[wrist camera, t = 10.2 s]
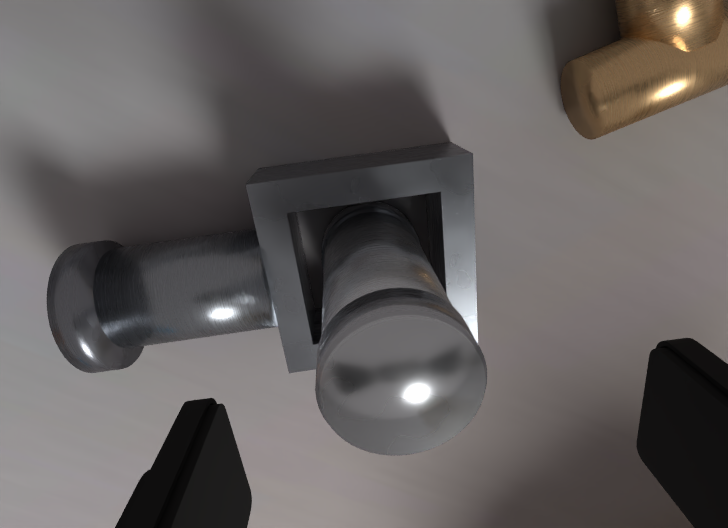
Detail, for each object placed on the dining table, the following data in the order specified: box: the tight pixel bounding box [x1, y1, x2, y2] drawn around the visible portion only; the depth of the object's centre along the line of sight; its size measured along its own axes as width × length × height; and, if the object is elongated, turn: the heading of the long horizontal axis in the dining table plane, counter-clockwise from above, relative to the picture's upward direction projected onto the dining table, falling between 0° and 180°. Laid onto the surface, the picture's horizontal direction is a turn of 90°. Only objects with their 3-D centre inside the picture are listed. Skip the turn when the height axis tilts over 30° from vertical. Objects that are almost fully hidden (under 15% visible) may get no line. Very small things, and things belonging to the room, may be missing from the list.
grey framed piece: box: [47, 142, 478, 373], centre depth 17 cm, size 15×8×5 cm, turn 97°
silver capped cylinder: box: [315, 202, 487, 455], centre depth 15 cm, size 4×4×10 cm
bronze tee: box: [561, 0, 728, 140], centre depth 16 cm, size 7×6×3 cm
